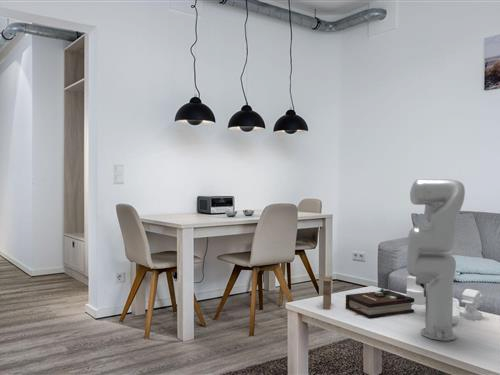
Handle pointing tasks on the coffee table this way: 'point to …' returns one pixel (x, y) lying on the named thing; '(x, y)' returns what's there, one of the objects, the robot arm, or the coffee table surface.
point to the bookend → (327, 292)
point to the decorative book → (379, 304)
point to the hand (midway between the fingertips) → (427, 298)
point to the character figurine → (471, 304)
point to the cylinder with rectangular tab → (415, 291)
